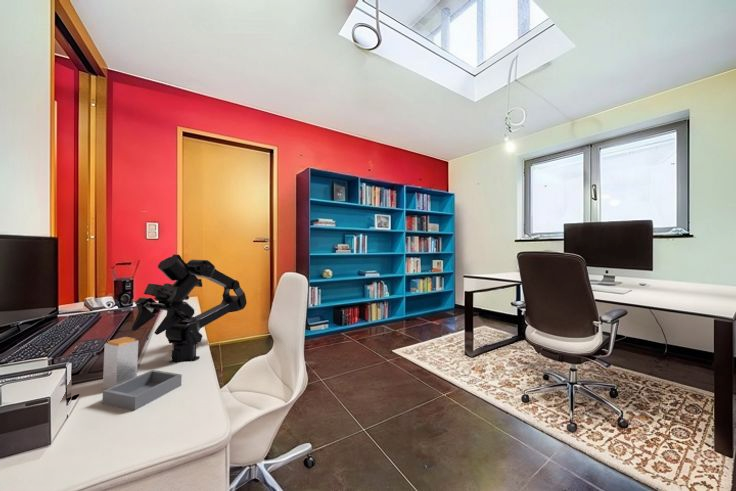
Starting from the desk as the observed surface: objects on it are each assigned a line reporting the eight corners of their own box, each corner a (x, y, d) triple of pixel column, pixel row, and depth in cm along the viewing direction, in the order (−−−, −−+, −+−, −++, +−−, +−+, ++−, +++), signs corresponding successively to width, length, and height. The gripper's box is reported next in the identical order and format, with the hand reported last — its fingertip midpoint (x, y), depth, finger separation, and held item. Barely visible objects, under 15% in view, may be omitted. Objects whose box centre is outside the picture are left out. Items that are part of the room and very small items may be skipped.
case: (152, 383, 77) (152, 369, 77) (181, 389, 75) (181, 374, 75) (102, 407, 65) (102, 391, 65) (134, 414, 63) (135, 397, 63)
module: (124, 380, 77) (125, 335, 78) (136, 383, 76) (138, 338, 76) (102, 388, 73) (104, 341, 73) (115, 392, 71) (117, 343, 71)
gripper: (142, 272, 88) (99, 313, 77) (187, 275, 83) (147, 320, 72) (165, 293, 95) (129, 333, 84) (208, 297, 90) (175, 341, 79)
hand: (144, 332), depth 80 cm, fingers open, 9 cm apart
